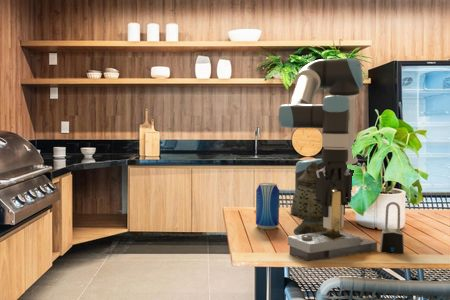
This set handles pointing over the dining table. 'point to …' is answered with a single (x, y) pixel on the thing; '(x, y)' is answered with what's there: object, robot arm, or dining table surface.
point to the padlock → (392, 236)
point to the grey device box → (328, 245)
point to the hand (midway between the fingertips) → (333, 226)
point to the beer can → (267, 206)
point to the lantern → (308, 203)
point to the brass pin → (335, 215)
